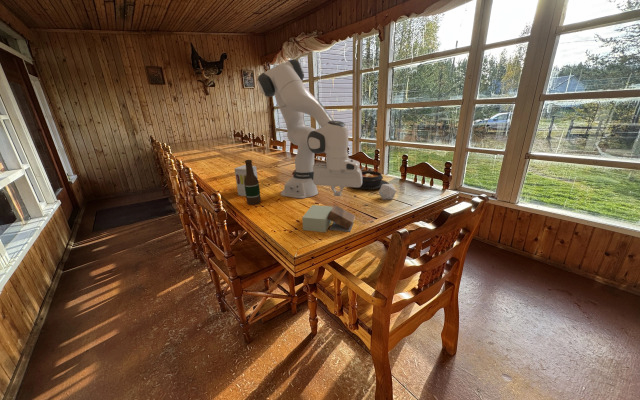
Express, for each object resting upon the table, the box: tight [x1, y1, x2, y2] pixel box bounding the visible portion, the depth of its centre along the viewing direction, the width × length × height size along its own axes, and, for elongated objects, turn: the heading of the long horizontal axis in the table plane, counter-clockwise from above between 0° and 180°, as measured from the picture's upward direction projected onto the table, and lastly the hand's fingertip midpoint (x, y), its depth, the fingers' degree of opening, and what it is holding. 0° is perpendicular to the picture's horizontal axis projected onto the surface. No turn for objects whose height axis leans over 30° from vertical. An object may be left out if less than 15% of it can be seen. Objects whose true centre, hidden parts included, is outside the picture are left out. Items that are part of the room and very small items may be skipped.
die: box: [378, 183, 397, 201], centre depth 140 cm, size 8×9×10 cm
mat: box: [328, 221, 354, 233], centre depth 112 cm, size 9×9×1 cm
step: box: [301, 204, 334, 233], centre depth 114 cm, size 10×14×6 cm
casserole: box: [352, 170, 390, 190], centre depth 160 cm, size 25×19×8 cm
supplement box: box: [234, 164, 259, 197], centre depth 155 cm, size 10×9×17 cm
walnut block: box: [328, 204, 356, 230], centre depth 111 cm, size 4×7×10 cm
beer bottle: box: [244, 159, 262, 206], centre depth 139 cm, size 8×8×24 cm
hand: (337, 195), depth 108 cm, fingers closed
